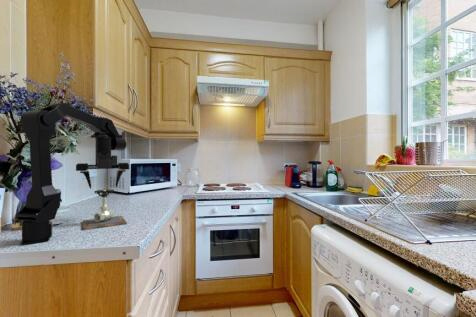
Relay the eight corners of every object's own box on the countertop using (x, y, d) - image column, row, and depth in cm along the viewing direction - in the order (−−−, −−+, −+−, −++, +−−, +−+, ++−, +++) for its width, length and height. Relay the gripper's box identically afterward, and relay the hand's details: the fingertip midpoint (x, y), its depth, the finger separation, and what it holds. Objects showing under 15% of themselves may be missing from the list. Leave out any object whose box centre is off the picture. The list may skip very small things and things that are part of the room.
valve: (117, 219, 95) (117, 189, 95) (104, 223, 89) (104, 191, 89) (104, 218, 97) (104, 189, 97) (90, 222, 91) (90, 191, 91)
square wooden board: (83, 230, 83) (83, 227, 83) (82, 221, 95) (82, 219, 95) (126, 224, 91) (126, 221, 91) (121, 217, 103) (121, 215, 103)
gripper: (75, 148, 86) (75, 191, 86) (131, 149, 96) (131, 187, 96) (76, 149, 95) (76, 188, 95) (127, 150, 106) (127, 185, 106)
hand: (103, 187), depth 98 cm, fingers open, 9 cm apart
